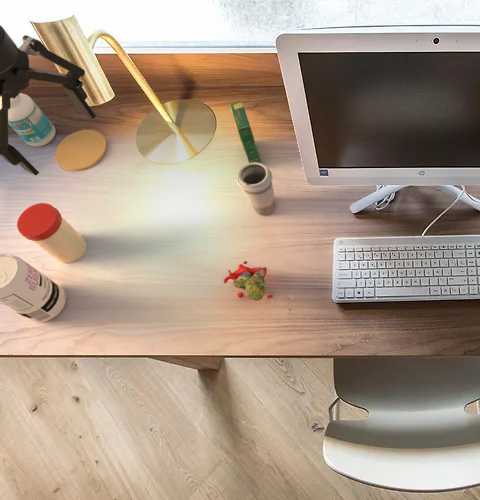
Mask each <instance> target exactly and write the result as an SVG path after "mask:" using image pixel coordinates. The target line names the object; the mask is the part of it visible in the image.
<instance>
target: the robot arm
mask: <svg viewBox="0 0 480 500" xmlns="http://www.w3.org/2000/svg"><path fill="white" fill-rule="evenodd" d="M21 39H22V44H21V45H20V46H19V47H18V45H17V44H16V43H15V42H14V41H13V39H12V38H11V36H10V35H9V34H8V32H7V31H6V30H5V28H4V27H3V26H2V25H1V24H0V157H1V158H3V160H4V161H6V162H7V163H9V164H11V165H13V166H15V167H17V166H18V165H19V166H20V167H21V168H22V169H23V170H24V171H26V172H28V173H30V174H32V175H34V176H35V177H36V176H37V175H39V174H40V171H39V170H38V169H37V168H36V167H35V166H34V165H33V164H32V163H31V162H30V161H29V160H28V159H27V158H26V157H25V156H24V155H23V154H22V153H21V152H20V151H19V150H18V148H16V147H15V146H13V145H12V144H10V143H9V124H8V109H10V98H13V99H14V98H15V97H17V96H18V94H19V93H22V91H24V90H26V89H27V88H28V87H29V86H30V81H31V80H32V81H33V80H34V81H39V82H41V81H43V82H48V83H53V84H59V85H61V88H62V89H63V90H64V92H65V94H67V96H68V97H69V100H71V101H72V103H73V104H74V106H75V107H76V109H78V111H79V112H80V114H81V115H83V116H85V117H87V118H89V119H91V120H94V119H95V118H97V115H96V114H95V112H94V111H93V110H92V108H91V107H90V106H89V104H88V102H87V101H86V100H87V99H88V94H87V92H86V91H85V89H83V86H84V82H83V81H82V80H80V79H81V78H82V77H84V76H85V75H86V71H85V69H84V68H82V67H80V66H78V65H76V64H75V63H72V62H71V61H69V60H67V59H65V58H63V57H61V56H60V55H58V54H56V53H54V52H53V51H50V50H48V48H47V47H46V46H45V45H44V44H43V42H42V41H40V40H39V39H36V38H35V37H32V36H30V35H27V34H25V35H23V36H22V38H21ZM29 55H31V56H33V57H37V56H39V57H41V58H43V59H45V60H47V61H49V62H51V63H53V64H54V65H57V66H59V67H60V68H62V69H64V70H66V71H67V72H66V73H61V72H56V71H53V70H52V71H51V70H46V69H41V68H36V67H32V66H30V58H29Z"/></svg>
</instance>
